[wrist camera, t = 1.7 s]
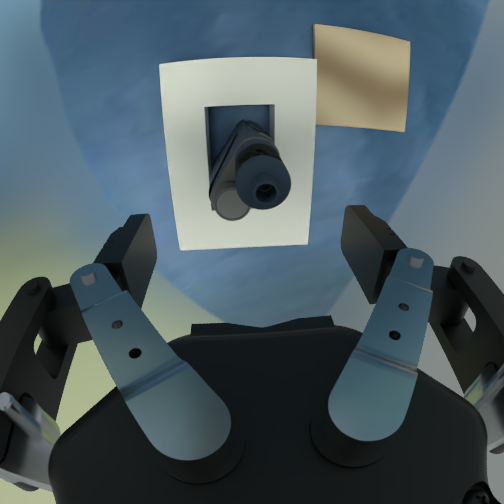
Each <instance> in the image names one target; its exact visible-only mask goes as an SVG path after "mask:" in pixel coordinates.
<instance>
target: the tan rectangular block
mask: <svg viewBox="0 0 504 504" xmlns="http://www.w3.org/2000/svg"><path fill="white" fill-rule="evenodd" d="M313 59H317V93H316V125H331V126H347V127H360V128H372V129H382V130H391V131H399V132H405V124H406V114H407V103H408V89H409V69H410V42H409V41H406V40H402V39H398V38H394V37H390V36H385V35H381V34H376V33H371V32H366V31H361V30H355V29H349V28H343V27H336V26H328V25H320V24H314V25H313Z"/></svg>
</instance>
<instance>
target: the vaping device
mask: <svg viewBox="0 0 504 504" xmlns="http://www.w3.org/2000/svg"><path fill="white" fill-rule="evenodd" d="M290 189H291V177H290V174H289V172H288V170H287V168H286V166H285V165H284V163H283V161H282V159H281V157H280V154H279V151H278V149H277V147H276V146H275V145H274V143H273V140H272V138H270V137H269V136H268V135H267V133H266V132H264V131H263V129H262V128H261V127H260V126H259V125H257V124H256V123H254V122H251V121H244V120H241V121H240V122H239V123H238V124H237V126H236V127H235V129H234V131H233V132H232V134H231V135H230V137H229V139H228V140H227V142H226V144H225V145H224V147H223V149H222V150H221V152H220V154H219V155H218V157H217V159H216V160H215V162H214V164H213V169H212V175H211V180H210V186H209V199H210V201H211V203H212V205H213V207H214V208H215V211H216V213H217V214H218V215H219V216H220V217H221V218H223V219H225V220H228V221H237V220H240V219H242V218H244V217H245V216H246V215H247V214H248V213H249V211H250V208H254V209H258V210H267V209H272V208H274V207H276V206H278V205H280V204H281V203H282V202H283V201H284V200H285V199H286V198H287V196H288V195H289V192H290Z"/></svg>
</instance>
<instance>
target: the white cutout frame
mask: <svg viewBox="0 0 504 504" xmlns="http://www.w3.org/2000/svg"><path fill="white" fill-rule="evenodd" d="M159 69H160V85H161V99H162V111H163V123H164V133H165V143H166V152H167V161H168V169H169V177H170V185H171V193H172V200H173V207H174V214H175V221H176V227H177V233H178V240H179V246H180V250H200V249H220V248H240V247H260V246H281V245H303V244H308V234H309V222H310V210H311V197H312V182H313V166H314V148H315V125H316V93H317V59H307V58H289V57H232V58H213V59H200V60H190V61H181V62H172V63H165V64H159ZM266 104H269V137H270V138H272V140H273V143H274V145H275V146H276V147H277V149H278V151H279V154H280V157H281V159H282V161H283V163H284V165H285V166H286V168H287V170H288V172H289V174H290V177H291V189H290V192H289V195H288V196H287V198H286V199H285V200H284V201H283V202H282V203H281V204H280V205H278V206H276V207H274V208H272V209H267V210H258V209H254V208H250V211H249V213H248V214H247V215H246V216H245V217H244V218H242V219H240V220H237V221H228V220H225V219H223V218H221V217H220V216H219V215H218V214H217V213H216V211H215V208H214V207H213V205H212V203H211V201H210V199H209V186H210V180H211V175H212V166H211V151H210V135H209V117H208V107H212V106H229V105H266Z"/></svg>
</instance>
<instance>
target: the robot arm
mask: <svg viewBox="0 0 504 504" xmlns="http://www.w3.org/2000/svg"><path fill="white" fill-rule="evenodd" d="M341 249H342V253H343V255H344V256H345V258H346V260H347V262H348V264H349V266H350V267H351V269H352V271H353V273H354V275H355V277H356V279H357V281H358V282H359V284H360V286H361V288H362V290H363V292H364V294H365V296H366V298H367V300H368V302H369V304H376V305H375V307H374V310H373V312H372V314H371V316H370V319H369V321H368V323H367V325H366V328H365V330H364V332H363V333H361V332H359V331H357V330H354V329H351V328H347V327H343V326H336V325H334V323H333V320H332V318H331V315H330V316H320V317H309V318H298V319H294V320H291V321H287V322H284V323H280V324H276V325H273V326H269V327H264V328H260V327H252V326H245V325H237V324H230V323H210V324H192V326H191V334H190V335H185V336H182V337H179V338H177V339H175V340H172V341H170V342H169V343H166V341H165V340H164V339H163V338H162V336H161V335H160V334H159V333H158V331H157V330H156V329H155V327H154V326H153V325H152V324H151V322H150V321H149V320H148V318H147V317H146V316H145V314H144V313H143V312H142V310H141V307H142V304H143V301H144V298H145V294H146V291H147V288H148V285H149V282H150V279H151V276H152V273H153V270H154V267H155V264H156V260H157V249H156V244H155V239H154V234H153V228H152V223H151V218H150V215H149V214H136V215H130V217H129V218H128V220H127V221H126V223H125V224H124V226H123V227H119V228H118V229H117V230H116V231H114V232H113V233H112V234H111V235H110V236H109V238H108V240H107V242H106V243H105V244H104V246H103V248H102V249H101V251H100V252H99V254H98V256H97V257H96V259H95V261H94V262H93V263H92V264H88V265H85V266H83V267H81V268H79V269H78V270H76V271H75V272H74V273H73V274H72V276H71V278H70V283H69V284H66V285H62V286H58V287H54V288H52V286H51V283H50V281H49V280H48V278H46V277H37V278H33V279H31V280H29V281H28V282H26V283H25V284H24V285H22V287H21V288H20V289H19V291H18V292H17V294H16V296H15V297H14V299H13V300H12V302H11V304H10V305H9V307H8V309H7V310H6V312H5V314H4V316H3V317H2V319H1V321H0V478H2V479H4V480H5V481H7V482H10V483H12V484H14V485H16V486H18V487H19V488H21V489H23V490H26V491H35V490H37V489H39V488H41V489H45V490H48V491H52V492H53V494H54V497H55V500H56V504H501V503H500V502H498V501H497V500H496V498H495V497H494V496H493V494H492V493H491V490H490V488H489V485H488V478H487V463H486V462H487V452H488V451H489V452H491V453H494V454H500V453H503V452H504V294H503V293H502V292H501V290H500V289H499V288H498V287H497V285H496V284H495V283H494V282H493V280H492V279H491V278H490V277H489V276H488V274H487V273H486V272H485V271H484V270H483V268H482V267H481V266H480V265H479V264H478V263H477V262H475V261H473V260H472V259H470V258H467V257H462V256H457V257H455V258H453V260H452V263H451V265H450V268H447V267H441V266H434V262H433V260H432V258H431V257H430V256H429V255H428V254H426V253H425V252H423V251H420V250H418V249H413V248H407V247H406V245H405V244H404V243H403V242H402V240H401V239H400V238H399V237H398V236H397V235H396V234H395V232H394V231H393V230H391V228H390V227H389V225H388V224H387V223H386V222H385V221H383V220H381V219H380V218H378V217H376V216H374V215H373V214H372V213H371V212H370V211H369V209H368V208H367V207H366V206H365V205H348V206H347V207H346V209H345V214H344V221H343V229H342V236H341ZM468 307H470V309H471V310H472V312H473V313H474V315H475V317H476V328H475V330H474V332H472V330H471V328H470V327H469V325H468V323H467V322H466V320H465V318H464V316H465V313H466V312H467V310H468ZM428 322H429V323H430V325H431V327H432V329H433V331H434V333H435V335H436V336H437V338H438V340H439V342H440V344H441V346H442V348H443V350H444V352H445V354H446V356H447V358H448V360H449V362H450V365H451V367H452V368H453V371H454V373H455V375H456V377H457V380H458V381H459V384H460V386H461V388H462V391H463V393H464V398H463V397H461V396H460V395H458V394H457V393H455V392H454V391H452V390H451V389H449V388H447V387H446V386H444V385H443V384H441V383H440V382H438V381H436V380H435V379H433V378H432V377H430V376H429V375H427V374H426V373H424V372H423V371H421V370H420V369H418V368H417V366H418V362H419V358H420V353H421V350H422V346H423V341H424V337H425V332H426V328H427V323H428ZM37 334H39V335H40V337H41V338H42V341H41V343H40V346H39V348H38V351H37V353H36V355H35V352H34V341H35V339H36V336H37ZM90 340H93V341H94V343H95V345H96V347H97V349H98V351H99V353H100V355H101V357H102V359H103V361H104V363H105V365H106V367H107V369H108V371H109V373H110V375H111V377H112V378H113V380H114V382H115V384H116V387H115V388H114V389H112V390H111V391H110V392H109V393H108V394H107V395H106V396H105V397H103V398H102V399H101V400H100V401H99V402H98V403H97V404H96V405H94V406H93V407H92V408H91V409H90V410H89V411H88V412H86V413H85V414H84V415H83V416H82V417H81V418H80V419H78V420H77V421H76V422H75V423H74V424H73V425H72V426H71V427H69V428H68V429H67V430H66V431H65V432H64V433H63V434H62V435H61V436H60V430H59V427H58V425H57V423H56V422H55V421H56V417H57V413H58V409H59V405H60V401H61V397H62V394H63V390H64V386H65V383H66V379H67V376H68V373H69V369H70V366H71V363H72V360H73V357H74V353H75V350H76V347H77V344H78V343H81V342H85V341H90Z"/></svg>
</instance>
